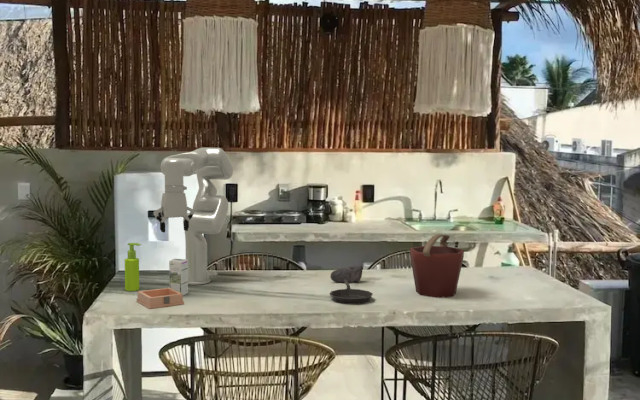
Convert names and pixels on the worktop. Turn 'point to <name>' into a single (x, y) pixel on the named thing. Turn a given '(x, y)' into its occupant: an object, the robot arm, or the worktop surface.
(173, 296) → the pink square tray
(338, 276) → the perforated stone tool
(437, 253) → the bucket
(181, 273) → the syrup box
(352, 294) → the frying pan
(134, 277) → the soap dispenser
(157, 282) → the worktop surface
